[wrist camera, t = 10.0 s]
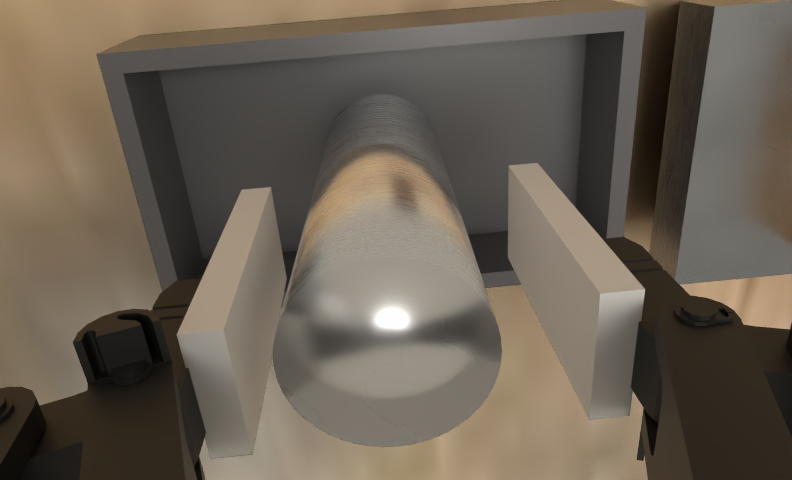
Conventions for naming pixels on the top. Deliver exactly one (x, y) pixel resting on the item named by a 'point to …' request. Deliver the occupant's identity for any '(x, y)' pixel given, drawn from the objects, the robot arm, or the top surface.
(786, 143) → the plate with orange frame
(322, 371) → the pin
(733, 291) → the top surface
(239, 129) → the pin tray
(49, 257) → the top surface
